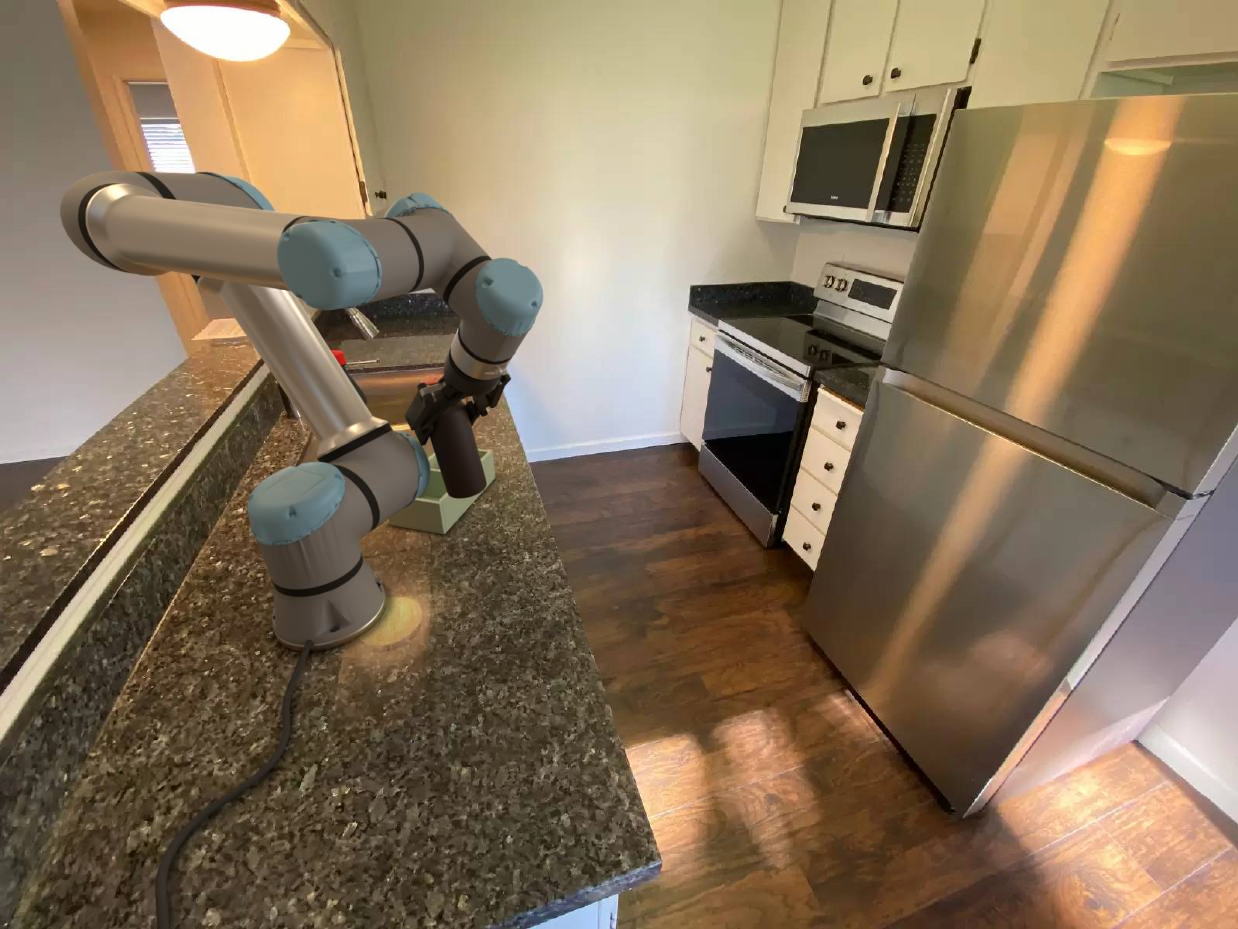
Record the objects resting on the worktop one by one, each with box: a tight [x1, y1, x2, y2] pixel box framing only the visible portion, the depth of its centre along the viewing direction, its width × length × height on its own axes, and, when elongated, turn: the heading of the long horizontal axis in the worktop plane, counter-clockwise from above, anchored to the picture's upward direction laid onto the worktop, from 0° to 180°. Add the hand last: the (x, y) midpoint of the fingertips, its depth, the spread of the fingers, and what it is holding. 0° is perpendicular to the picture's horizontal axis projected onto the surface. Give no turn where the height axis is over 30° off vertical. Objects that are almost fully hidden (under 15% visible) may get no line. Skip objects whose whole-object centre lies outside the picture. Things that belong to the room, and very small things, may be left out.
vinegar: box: [418, 373, 487, 499], centre depth 85 cm, size 7×7×20 cm
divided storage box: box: [388, 448, 496, 535], centre depth 107 cm, size 22×12×7 cm, turn 167°
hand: (442, 431), depth 87 cm, fingers closed on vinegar, 7 cm apart
